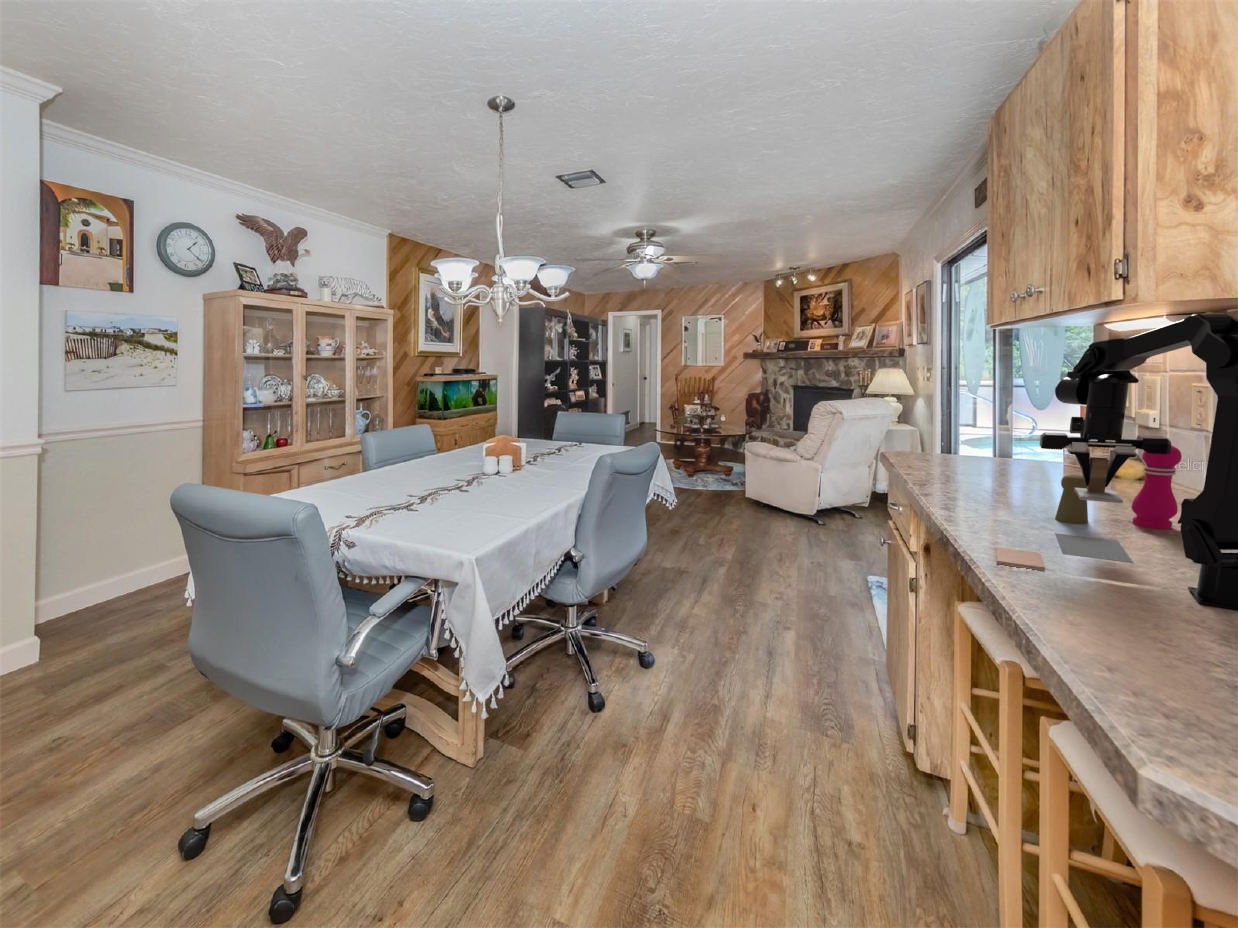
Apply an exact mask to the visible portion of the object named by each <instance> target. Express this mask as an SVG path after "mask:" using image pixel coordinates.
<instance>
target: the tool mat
mask: <svg viewBox="0 0 1238 928" xmlns="http://www.w3.org/2000/svg"><path fill="white" fill-rule="evenodd" d="M1054 535H1055V537H1056V541H1057V543H1058V545H1059V548H1060V551H1061V553H1062V554H1063V555H1069V556H1074V557H1075V556H1076V557H1085V558H1091V559H1097V560H1098V559H1100V560H1108V561H1113V562H1114V561H1115V562H1123V563H1129V564H1130V563H1132V564H1133V563H1134V561H1133V560H1132V558H1131V557H1130V556H1129V555H1128V553H1127V551H1126V550H1125V549H1124V547H1123V546H1122V544H1121V543H1120V541H1119V540H1118V539H1110V538H1109V539H1108V538H1100V537H1091V536H1083V535H1074V534H1064V533H1055V532H1054Z"/></svg>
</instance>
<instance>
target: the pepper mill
mask: <svg viewBox="0 0 1238 928" xmlns="http://www.w3.org/2000/svg"><path fill="white" fill-rule="evenodd" d="M1163 437H1164V438H1167V439H1168V440H1169V441H1171V440H1170V438H1168V437H1166V436H1163ZM1181 452H1182V451H1180V449H1179V448H1178V447H1177V446H1174V445H1171V451H1170V454H1148V453H1146V452H1145V451H1144V450H1143V451H1142V455H1141V458H1142V460H1143V462H1144V463H1145V464H1146V465H1144V466H1143V469H1144V470H1142V471H1143V473H1145V479H1144V483H1143V486H1142V488H1141V489H1140V490H1139V492H1138V493H1137V494H1136V496H1135V497H1134V499H1133V500H1132V503H1131V510H1132V511H1133V514H1135V515H1136V516H1133V517H1132V520H1131V521H1132V522H1131V524H1132V525H1134V526H1137V527H1140V528H1144V529H1151V530H1163V531H1164V530H1172V529H1173V522H1172V520H1170V519H1172V518H1174V517H1176V516H1177V514H1178V508H1179V507H1178V503H1177V499H1176V498H1175V495H1174V493H1173V489H1172V480H1173V477H1174V476H1175V475H1176V474H1177V473H1176V471H1177V468H1176V466H1177V465H1178V464H1179V463H1180V462H1181V461H1182V453H1181Z"/></svg>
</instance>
